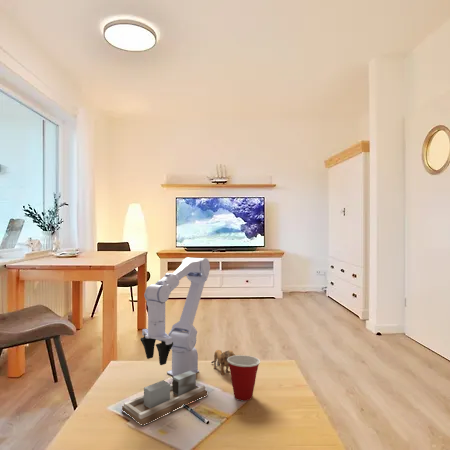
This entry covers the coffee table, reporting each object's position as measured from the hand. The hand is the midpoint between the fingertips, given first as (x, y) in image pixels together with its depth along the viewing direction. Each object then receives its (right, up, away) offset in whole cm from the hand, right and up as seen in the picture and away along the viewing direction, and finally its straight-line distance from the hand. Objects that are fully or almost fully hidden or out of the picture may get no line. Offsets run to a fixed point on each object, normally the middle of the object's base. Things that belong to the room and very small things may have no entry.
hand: (156, 361), depth 113 cm
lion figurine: (+22, -10, +16) cm, 29 cm away
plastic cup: (+29, -10, -5) cm, 31 cm away
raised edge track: (+5, -9, -9) cm, 14 cm away
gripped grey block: (+3, -8, -12) cm, 14 cm away
